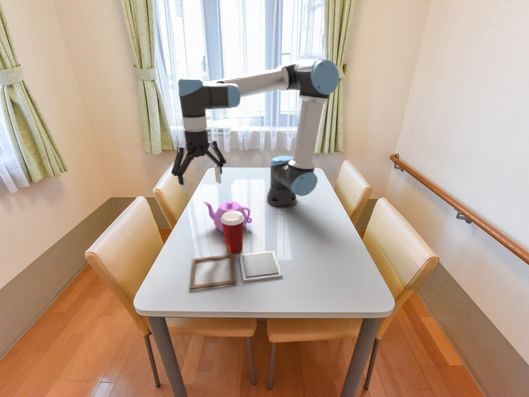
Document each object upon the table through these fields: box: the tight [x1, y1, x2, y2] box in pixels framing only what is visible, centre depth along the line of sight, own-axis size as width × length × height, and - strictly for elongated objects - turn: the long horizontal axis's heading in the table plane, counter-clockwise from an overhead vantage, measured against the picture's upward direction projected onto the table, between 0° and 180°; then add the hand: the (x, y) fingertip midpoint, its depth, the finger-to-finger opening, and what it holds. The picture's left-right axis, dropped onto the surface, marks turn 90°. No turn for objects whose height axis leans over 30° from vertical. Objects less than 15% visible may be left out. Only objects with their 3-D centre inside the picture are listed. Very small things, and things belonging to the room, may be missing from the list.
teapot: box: [203, 200, 253, 233], centre depth 112 cm, size 20×14×12 cm
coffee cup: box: [221, 211, 244, 255], centre depth 97 cm, size 8×8×15 cm
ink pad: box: [238, 250, 283, 283], centre depth 92 cm, size 13×13×1 cm
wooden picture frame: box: [188, 253, 238, 292], centre depth 90 cm, size 15×15×1 cm
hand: (202, 187), depth 98 cm, fingers open, 13 cm apart
